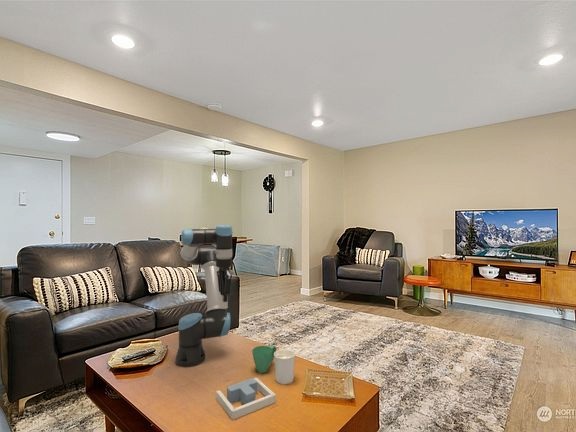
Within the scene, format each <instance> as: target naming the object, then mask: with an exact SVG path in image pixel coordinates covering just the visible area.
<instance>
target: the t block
mask: <svg viewBox="0 0 576 432" xmlns="http://www.w3.org/2000/svg"><path fill="white" fill-rule="evenodd" d="M257 394H258V389H257V382H256V381H255V380H254V378H253V377H252V378H249V379H245V380H242V381H240V382H237V383H234V384H231V385H228V386H226V398H227V400H228V401H229V402H230V403H231V405H233V404H234V403H236V402H241V403H242V405H245V404H247V403H250V402H252V401H255V400H256V395H257Z"/></svg>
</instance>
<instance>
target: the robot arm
mask: <svg viewBox="0 0 576 432" xmlns="http://www.w3.org/2000/svg"><path fill="white" fill-rule="evenodd" d="M233 233H234V232H233V227H232V225H228V224H227V225H226V224H223V225H222V224H221V225H220V224H218V225H216V227H215V228H187V229H182V230H181V236H180V237H181V244H182V245H183V246H182V247H181V249H180V252H179V256H180V258H181V260H182V261H184V263H186V264H188V265H192V266H201V269H203V270H204V278H205V293H206V304H207V305H206V306H207V310H205V312H204V315H203V314H202V313H200V312H194V313H193V312H191V313H189V314H186V315H184V316H182V317H181V318H180V319H179V321H178V328H177V329H178V348H177V351H176V353H175V358H174V362H175V363H174V364H175V365H176V366H178V367H182V368H188V367H189V368H190V367H193V366H194V367H195V366H199V365H201V364H202V363H203V362H205V360H206V351H205V350H204V347H203V339H204V340H205V339H206V340H207V339H211V338H217V337H219V338H220V337H223V336H227V335H229V333H230V328H231V313H230V312H227V309H228V305H229V304H228V301H229V299H228V298H229V297H228V295H229V294H230V293H231V285H232V277H233V274H230V273H231V271H230V268H231V267H233Z"/></svg>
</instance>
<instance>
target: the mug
mask: <svg viewBox="0 0 576 432" xmlns="http://www.w3.org/2000/svg"><path fill="white" fill-rule="evenodd" d="M276 351H277V348H276V346H275V344H274V345H273V344H272V345H270V346H269V345H260V346H259V345H258V346H255V347H253V348H252V350H251V352H252V358H253V363H254V365H255V369H256V371H257V372H258V373H259V374H264V373H267V372H268V369H269V367H270V365H271V364H272V362H273V361H274V353H275V352H276Z"/></svg>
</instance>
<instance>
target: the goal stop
mask: <svg viewBox="0 0 576 432" xmlns="http://www.w3.org/2000/svg"><path fill="white" fill-rule="evenodd" d="M253 379H254V380H255V381H256V382H257V391H259V392H260V393H261V394H263V397H261V398H258V399H255V401H252V402H250V403H247V404H245V405H244V404H242V405H240V406H237V407H235V406H233V404H231V403H230V402H229V401H228V400H227V396H225V395H224V393H223V392H222V391H221V390H220V389H219V390H216V391H215V396H216V397H215V398H216V400H217V402H218V403H219V404H220V406H221V407H222V408H223V410H224V411H225V412H226V413H227V415H228V416H229V418H230V419H231V420H236V419H238V418H241V417H243V416H246V415H248V414H250V413H253V412H255V411H256V412H257V411H258V410H260V409H263V408H266V407H267V406H270V405H273V404H275V403H276V401H277V400H276V396H277V395H276V393H275V392H273V390H271V389H270V388H269V387H268V386H267V385H265V384H264V383H263V382H262V381H261V379H259V378H258V377H254V378H253Z"/></svg>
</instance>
